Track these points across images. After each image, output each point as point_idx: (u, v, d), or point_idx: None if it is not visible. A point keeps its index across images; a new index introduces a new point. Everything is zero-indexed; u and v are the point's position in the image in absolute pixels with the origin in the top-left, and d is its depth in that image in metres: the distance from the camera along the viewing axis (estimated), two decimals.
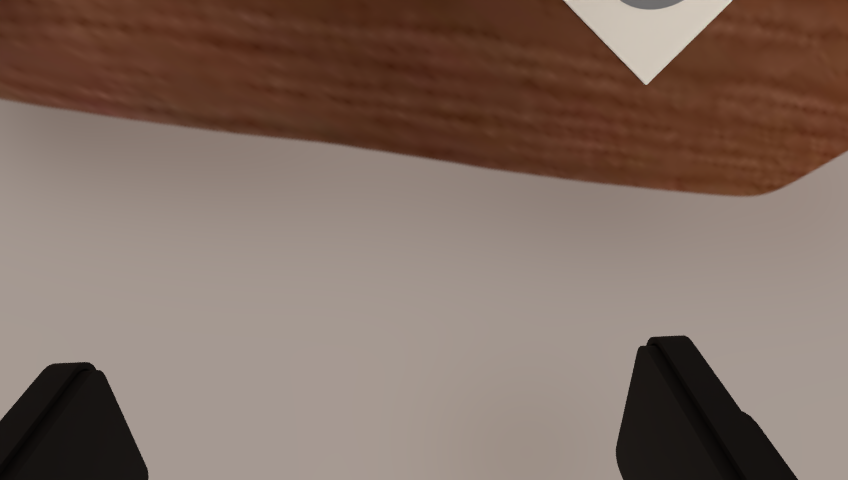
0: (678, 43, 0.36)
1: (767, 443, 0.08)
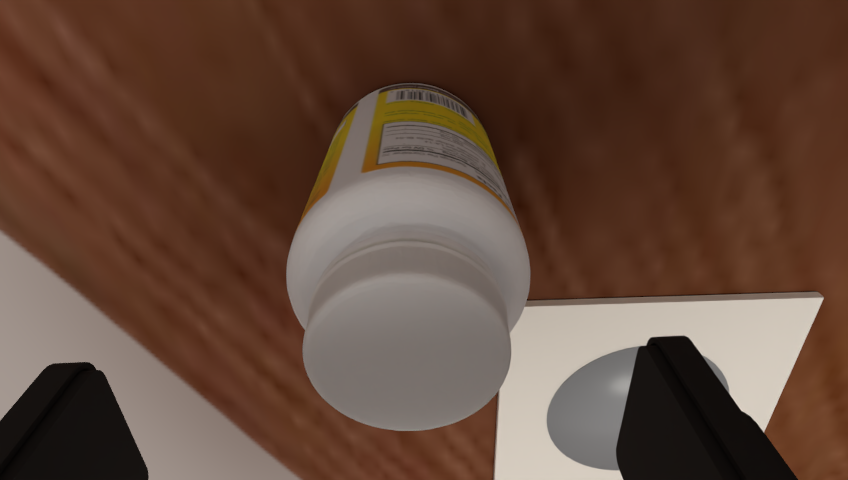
0: None
1: (766, 443, 0.08)
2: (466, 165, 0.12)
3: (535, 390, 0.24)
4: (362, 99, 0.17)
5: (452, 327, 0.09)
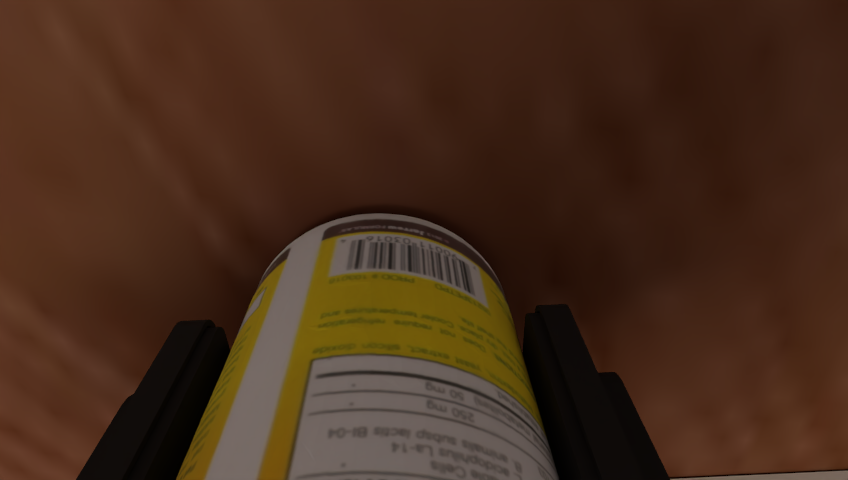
0: None
1: (628, 398, 0.09)
2: None
3: None
4: (297, 242, 0.10)
5: None
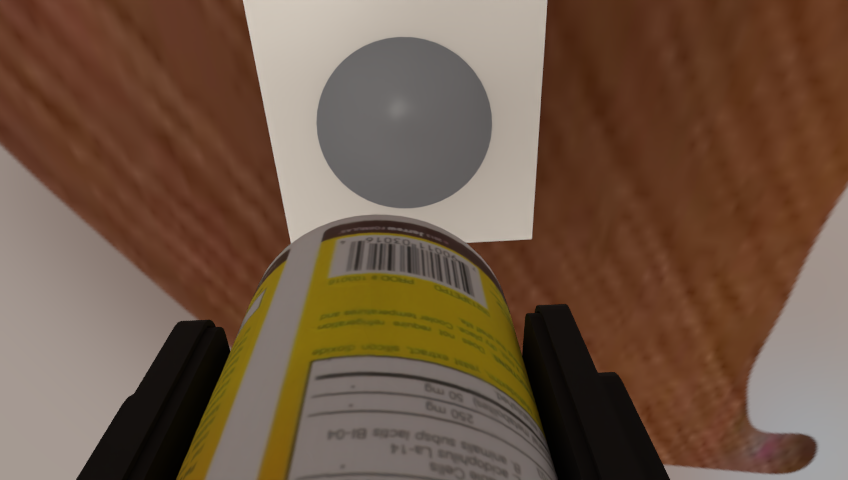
0: None
1: (627, 397, 0.09)
2: None
3: (298, 99, 0.24)
4: (297, 243, 0.10)
5: None
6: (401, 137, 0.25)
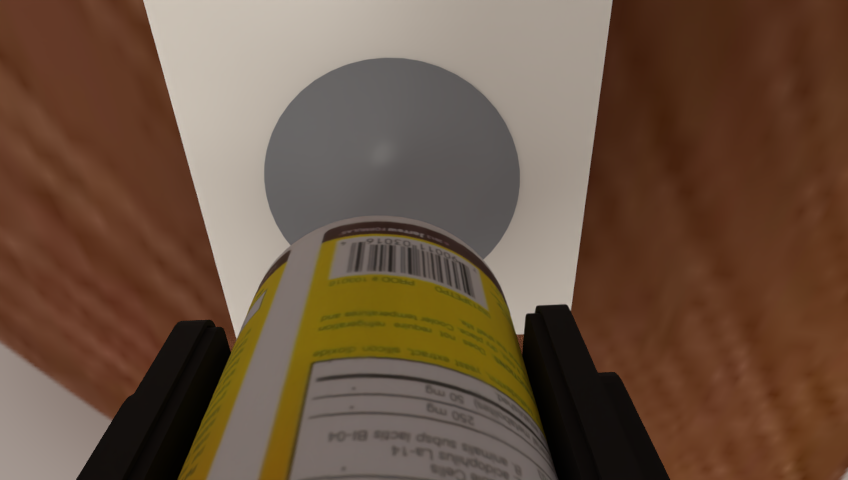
0: None
1: (627, 398, 0.09)
2: None
3: (236, 146, 0.17)
4: (297, 244, 0.10)
5: None
6: (388, 199, 0.18)
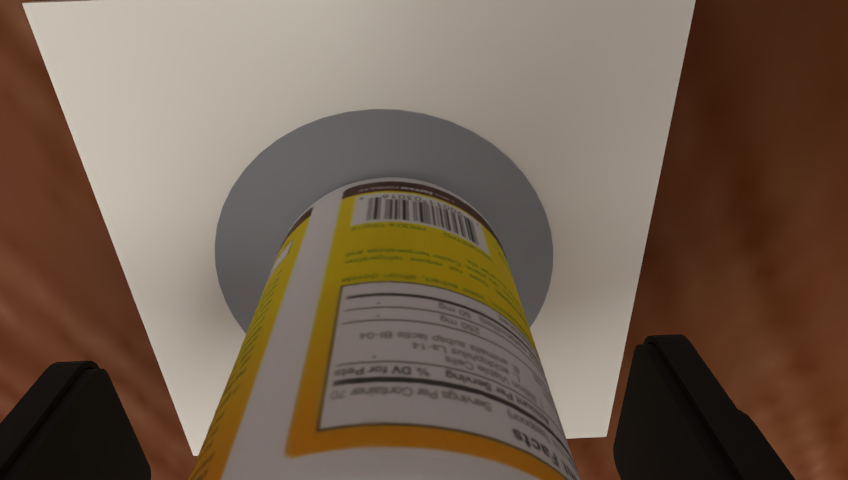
0: None
1: (763, 441, 0.08)
2: (490, 403, 0.06)
3: (176, 223, 0.12)
4: (318, 202, 0.11)
5: None
6: None
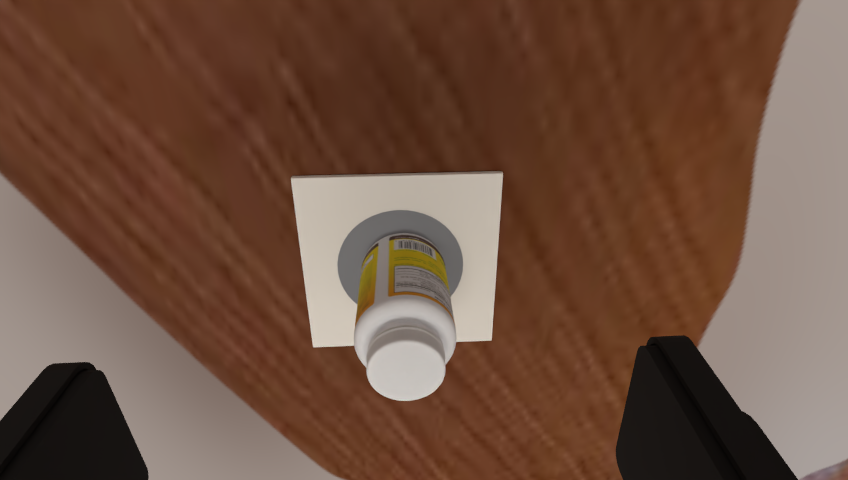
0: None
1: (766, 443, 0.08)
2: (430, 291, 0.28)
3: (325, 247, 0.34)
4: (380, 241, 0.33)
5: (423, 359, 0.26)
6: None
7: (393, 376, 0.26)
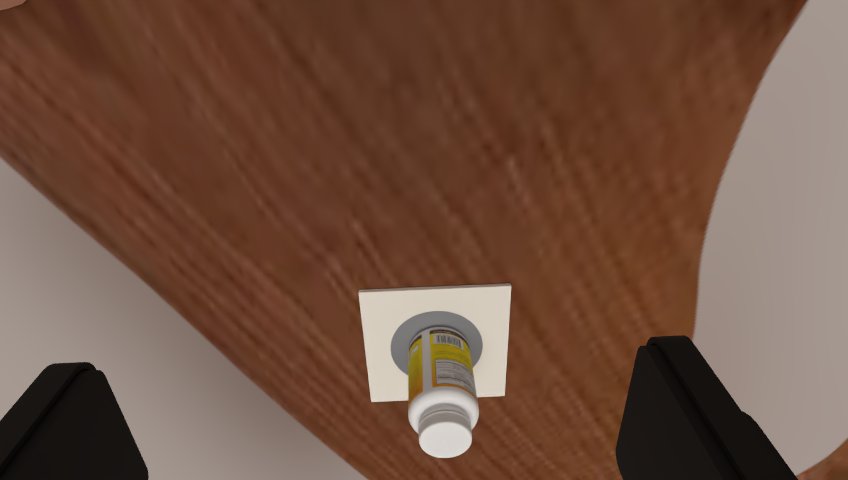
0: (403, 396, 0.51)
1: (767, 443, 0.08)
2: (461, 381, 0.41)
3: (382, 335, 0.47)
4: (422, 333, 0.46)
5: (457, 433, 0.38)
6: None
7: (437, 443, 0.39)
